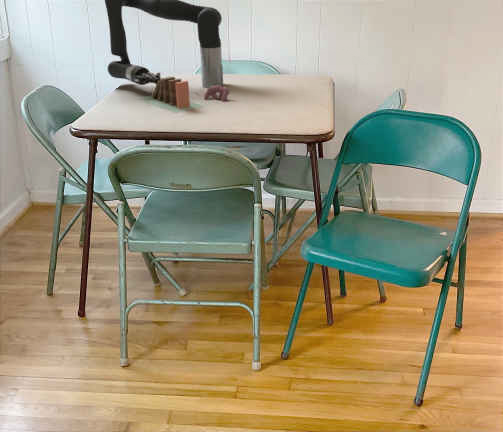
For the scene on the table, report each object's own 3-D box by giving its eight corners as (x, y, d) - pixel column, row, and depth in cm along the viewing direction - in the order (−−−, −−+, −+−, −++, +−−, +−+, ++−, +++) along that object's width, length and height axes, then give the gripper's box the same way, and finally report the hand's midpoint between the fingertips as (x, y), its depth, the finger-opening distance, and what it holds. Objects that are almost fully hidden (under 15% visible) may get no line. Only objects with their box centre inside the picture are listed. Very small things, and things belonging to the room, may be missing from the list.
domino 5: (177, 107, 251) (175, 82, 247) (187, 105, 254) (185, 80, 250) (179, 108, 250) (177, 83, 246) (189, 106, 253) (188, 81, 249)
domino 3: (163, 102, 258) (162, 78, 254) (174, 100, 261) (173, 76, 256) (165, 103, 257) (164, 79, 253) (176, 101, 260) (175, 77, 255)
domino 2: (157, 99, 262) (160, 78, 255) (167, 97, 264) (171, 76, 258) (159, 101, 261) (162, 80, 254) (169, 99, 264) (173, 78, 257)
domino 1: (151, 96, 265) (158, 80, 257) (161, 94, 268) (168, 78, 260) (153, 99, 264) (159, 83, 256) (163, 96, 267) (170, 81, 259)
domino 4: (170, 105, 255) (168, 80, 251) (180, 103, 258) (179, 78, 253) (172, 106, 254) (170, 81, 249) (182, 103, 257) (181, 79, 252)
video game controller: (228, 104, 262) (231, 87, 262) (223, 101, 258) (226, 84, 258) (207, 101, 266) (210, 85, 265) (202, 99, 261) (205, 82, 261)
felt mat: (136, 99, 266) (136, 98, 266) (165, 93, 274) (165, 92, 274) (175, 113, 245) (175, 112, 245) (205, 106, 253) (205, 106, 252)
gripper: (123, 68, 269) (143, 74, 256) (150, 63, 276) (171, 69, 264) (125, 85, 272) (145, 93, 260) (151, 80, 279) (172, 87, 267)
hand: (158, 81), depth 262 cm, fingers closed
